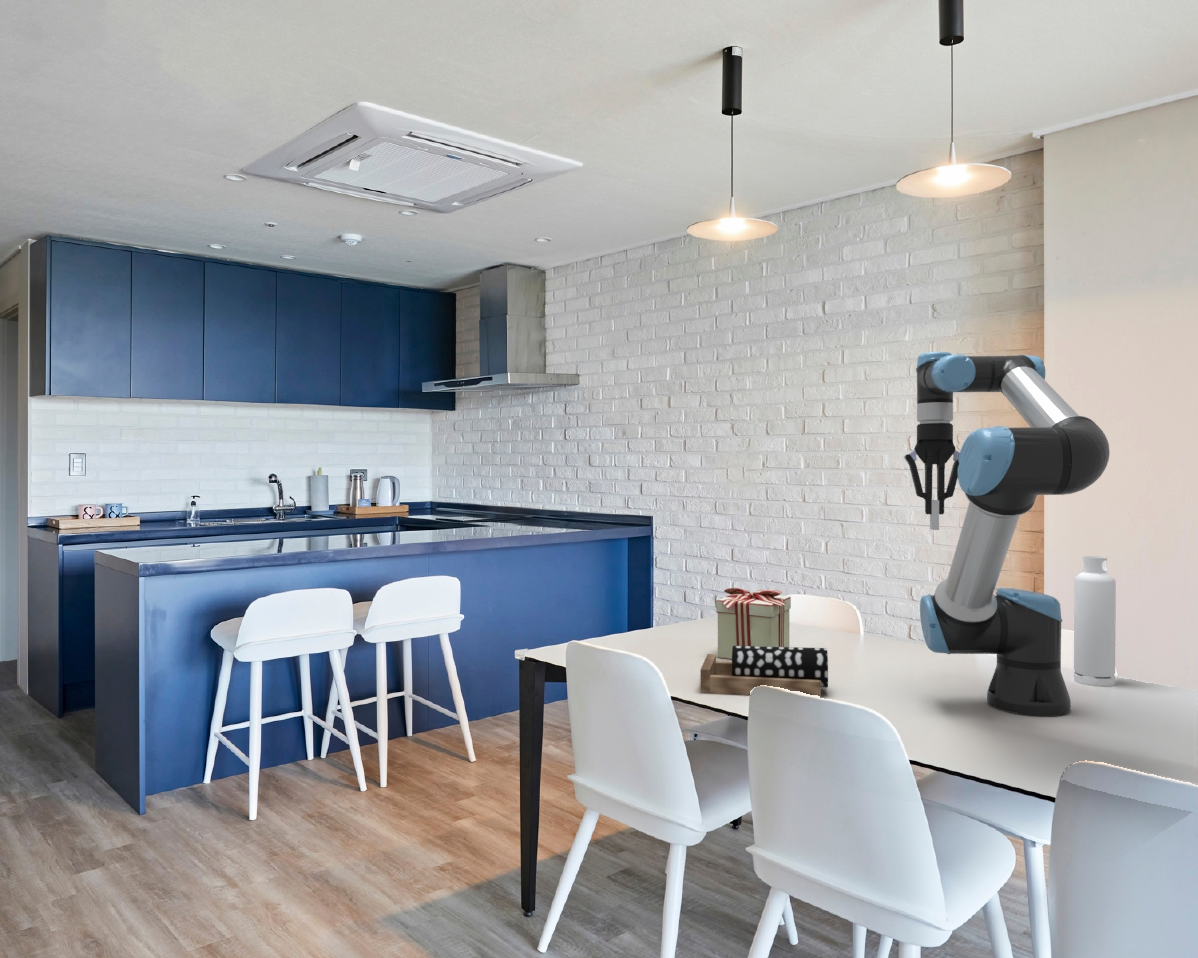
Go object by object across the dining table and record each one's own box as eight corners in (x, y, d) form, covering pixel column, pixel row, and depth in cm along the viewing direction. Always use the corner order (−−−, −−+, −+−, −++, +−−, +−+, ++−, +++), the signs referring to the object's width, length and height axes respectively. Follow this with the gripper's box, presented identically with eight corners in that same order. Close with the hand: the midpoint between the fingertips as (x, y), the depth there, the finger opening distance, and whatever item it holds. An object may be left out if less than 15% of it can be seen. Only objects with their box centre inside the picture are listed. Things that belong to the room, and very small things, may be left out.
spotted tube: (828, 655, 186) (731, 652, 190) (828, 693, 187) (732, 689, 191) (826, 643, 194) (733, 640, 198) (826, 679, 195) (734, 676, 199)
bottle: (1080, 675, 205) (1081, 554, 204) (1119, 681, 199) (1120, 556, 199) (1068, 681, 199) (1069, 557, 199) (1108, 688, 193) (1109, 559, 193)
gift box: (711, 661, 221) (711, 592, 221) (733, 647, 238) (732, 583, 238) (778, 667, 214) (778, 596, 214) (796, 653, 231) (796, 587, 230)
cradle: (818, 680, 201) (818, 658, 200) (820, 698, 185) (820, 674, 185) (707, 675, 206) (707, 653, 206) (700, 692, 190) (700, 669, 190)
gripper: (962, 423, 199) (962, 528, 199) (901, 424, 202) (901, 527, 202) (969, 421, 192) (969, 531, 192) (906, 422, 194) (905, 530, 195)
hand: (934, 529), depth 197 cm, fingers closed
